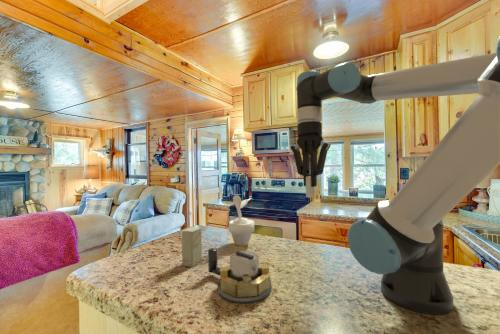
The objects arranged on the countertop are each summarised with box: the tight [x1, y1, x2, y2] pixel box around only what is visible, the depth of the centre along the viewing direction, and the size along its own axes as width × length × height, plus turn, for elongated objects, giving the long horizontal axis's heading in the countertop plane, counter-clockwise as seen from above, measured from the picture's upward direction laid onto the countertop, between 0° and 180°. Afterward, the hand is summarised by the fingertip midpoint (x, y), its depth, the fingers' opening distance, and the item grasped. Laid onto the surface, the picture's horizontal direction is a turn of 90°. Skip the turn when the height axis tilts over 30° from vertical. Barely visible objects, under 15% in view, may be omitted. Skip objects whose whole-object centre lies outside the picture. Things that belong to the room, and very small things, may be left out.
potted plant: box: [228, 190, 255, 247], centre depth 102 cm, size 13×12×25 cm
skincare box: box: [181, 226, 203, 268], centre depth 82 cm, size 6×4×12 cm
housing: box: [217, 250, 273, 305], centre depth 64 cm, size 15×15×10 cm
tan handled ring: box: [207, 247, 271, 297], centre depth 66 cm, size 21×14×7 cm, turn 52°
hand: (310, 196), depth 72 cm, fingers closed
